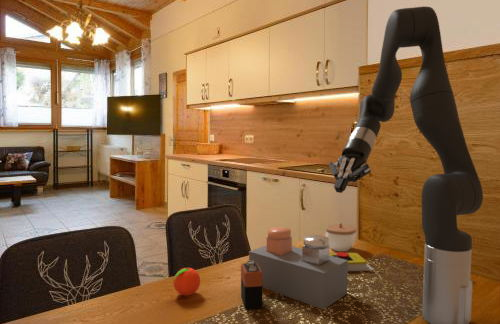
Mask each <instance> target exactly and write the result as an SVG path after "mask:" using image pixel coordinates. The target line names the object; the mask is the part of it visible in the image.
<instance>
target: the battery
mask: <svg viewBox="0 0 500 324" xmlns="http://www.w3.org/2000/svg"><path fill="white" fill-rule="evenodd" d="M262 279H263V273H262V271H261V269H260V267H259V265H258V264H257V263H254V261H252V260H250V261H249V260H246V261H245V263H241V265H240V282H241V283H240V297H241V301H242V304H243V307H244V308H245V310H253V309H255V310H257V309H262V308H263V287H262Z"/></svg>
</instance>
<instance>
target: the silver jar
mask: <svg viewBox="0 0 500 324" xmlns="http://www.w3.org/2000/svg"><path fill="white" fill-rule="evenodd" d="M301 249H302V262H306V263H310V264H313V265H317V266H321V265H323V264H325V263H327V262H329V254H330V245H329V238H328V237H326V235H321V234H308V235H305V236H303V245H302V248H301Z"/></svg>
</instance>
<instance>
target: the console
mask: <svg viewBox="0 0 500 324" xmlns="http://www.w3.org/2000/svg"><path fill="white" fill-rule="evenodd" d="M250 260H252V261H254V263H257V264H258V265H259V267H260V269H261V271H262V273H263V279H262V289H266V290H268V291H272V292H274V293H277V294H279V295H282V296H285V297H288V298H290V299H293V300H296V301H299V302H302V303H303V304H307V305H310V306H313V307H315V308H318V309H320V310H325V309H326V308H328V307H329V306H331V305H332V304H335V302H336V301H338V300H340V299H341V298H343V297H344V296H346V295H347V294H348V278H349V277H348V273H349V271H348V260H345V259H341V258H337V257H333V256H329V262H327V263H325V264H323V265H321V266H317V265H313V264H310V263H306V262H302V248H301V247H296V246H293V245H292V251H291V252H289V253H286V254H284V255H277V254H273V253H270V252H267V244H265V245H264V246H260V247H257V248H255V249H252V250H250V251H248V261H250Z"/></svg>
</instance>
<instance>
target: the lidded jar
mask: <svg viewBox="0 0 500 324" xmlns="http://www.w3.org/2000/svg"><path fill="white" fill-rule="evenodd" d="M356 233H357V228H356V227H354V226H351V225H348V224H343V223H342V222H339V224H337V223H336V224H335V223H334V224H329V225H326V226H325V236H326V237H328V238H329V248H330V247H331V249H332V251H336V252H348V251H349V249H351V248H352V247H353V246H354V244H355V240H356Z"/></svg>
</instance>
